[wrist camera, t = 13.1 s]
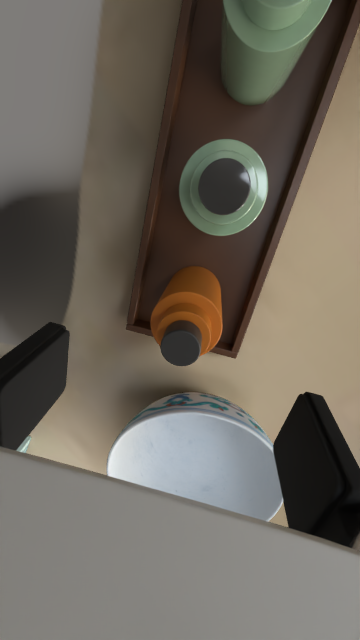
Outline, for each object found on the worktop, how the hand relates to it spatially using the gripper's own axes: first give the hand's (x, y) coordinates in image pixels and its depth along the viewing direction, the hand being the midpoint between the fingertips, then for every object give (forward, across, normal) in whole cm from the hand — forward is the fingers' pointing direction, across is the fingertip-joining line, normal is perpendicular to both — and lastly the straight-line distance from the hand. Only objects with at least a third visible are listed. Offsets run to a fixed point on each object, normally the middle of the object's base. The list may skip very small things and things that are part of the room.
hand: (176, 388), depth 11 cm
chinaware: (+15, -4, +15) cm, 21 cm away
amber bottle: (+14, 0, +1) cm, 15 cm away
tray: (+15, 0, -7) cm, 17 cm away
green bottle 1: (+15, 0, -7) cm, 16 cm away
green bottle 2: (+15, 0, -15) cm, 21 cm away
